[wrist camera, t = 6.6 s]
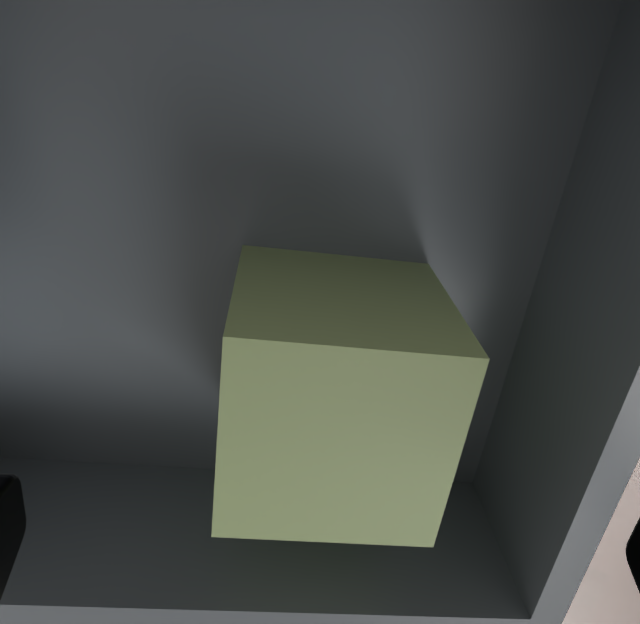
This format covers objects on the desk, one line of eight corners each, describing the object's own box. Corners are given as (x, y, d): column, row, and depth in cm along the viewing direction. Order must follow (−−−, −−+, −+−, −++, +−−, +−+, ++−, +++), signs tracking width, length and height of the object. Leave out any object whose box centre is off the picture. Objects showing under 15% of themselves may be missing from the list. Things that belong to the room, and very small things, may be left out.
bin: (484, 488, 16) (552, 642, 12) (-12, 461, 14) (-129, 625, 10) (667, -78, 10) (927, -159, 6) (-133, -210, 9) (-505, -433, 5)
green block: (394, 414, 14) (433, 547, 10) (231, 402, 13) (211, 536, 10) (428, 263, 12) (490, 358, 8) (242, 244, 12) (222, 336, 8)
